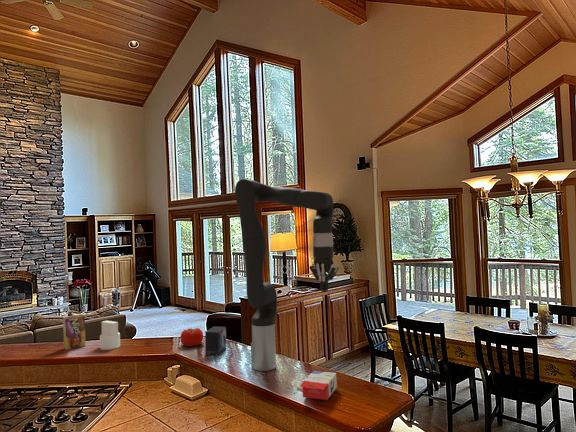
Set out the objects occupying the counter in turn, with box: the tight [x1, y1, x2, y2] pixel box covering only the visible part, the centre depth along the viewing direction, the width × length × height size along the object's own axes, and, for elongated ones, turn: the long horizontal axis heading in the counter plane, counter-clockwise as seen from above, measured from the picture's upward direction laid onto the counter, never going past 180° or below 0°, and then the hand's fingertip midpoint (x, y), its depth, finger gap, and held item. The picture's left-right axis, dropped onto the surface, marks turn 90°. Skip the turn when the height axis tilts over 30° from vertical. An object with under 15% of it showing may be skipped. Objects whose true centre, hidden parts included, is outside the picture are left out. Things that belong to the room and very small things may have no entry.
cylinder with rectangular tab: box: [99, 320, 121, 351], centre depth 204 cm, size 9×9×12 cm
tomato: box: [179, 327, 204, 348], centre depth 204 cm, size 11×11×8 cm
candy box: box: [62, 313, 86, 351], centre depth 205 cm, size 9×4×15 cm, turn 133°
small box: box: [204, 325, 227, 357], centre depth 191 cm, size 11×6×10 cm, turn 168°
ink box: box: [300, 370, 338, 401], centre depth 139 cm, size 8×5×15 cm
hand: (324, 291), depth 158 cm, fingers closed
